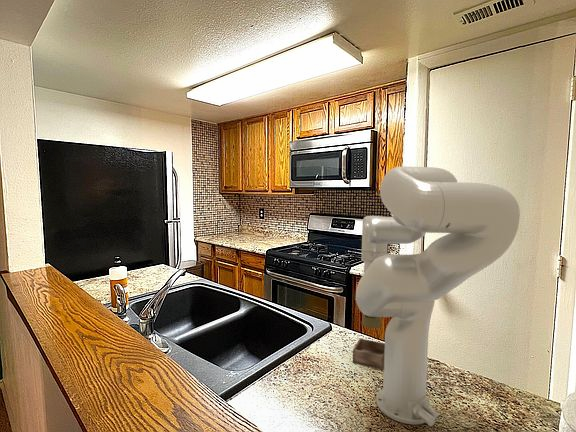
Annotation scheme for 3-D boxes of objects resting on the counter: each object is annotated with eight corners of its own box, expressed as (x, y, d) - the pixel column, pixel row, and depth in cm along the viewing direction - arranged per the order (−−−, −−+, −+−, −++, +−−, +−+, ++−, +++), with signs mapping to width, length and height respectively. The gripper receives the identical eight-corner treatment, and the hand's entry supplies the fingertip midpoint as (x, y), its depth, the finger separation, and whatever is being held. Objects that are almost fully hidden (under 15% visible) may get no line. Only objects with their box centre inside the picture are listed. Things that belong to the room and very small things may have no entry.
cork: (382, 329, 92) (384, 293, 92) (361, 327, 93) (363, 291, 93) (380, 321, 98) (382, 287, 98) (361, 319, 99) (362, 286, 99)
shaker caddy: (388, 356, 98) (388, 344, 98) (384, 370, 90) (384, 357, 90) (359, 350, 102) (359, 338, 102) (352, 362, 94) (353, 349, 93)
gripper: (381, 262, 85) (379, 327, 86) (391, 253, 100) (388, 308, 101) (355, 259, 89) (352, 321, 90) (367, 251, 104) (365, 304, 105)
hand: (371, 314), depth 96 cm, fingers closed on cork, 3 cm apart
